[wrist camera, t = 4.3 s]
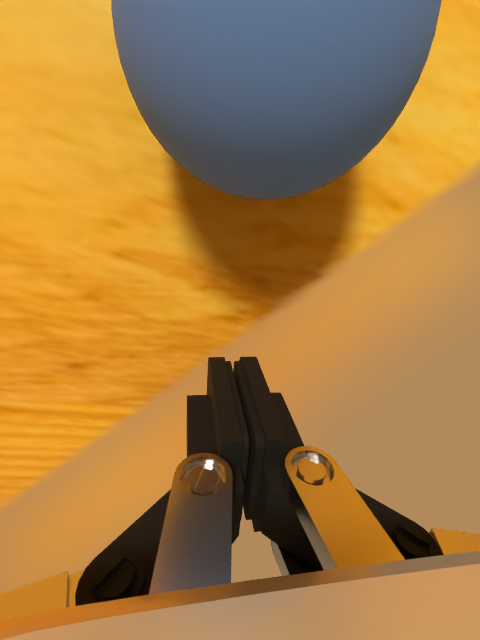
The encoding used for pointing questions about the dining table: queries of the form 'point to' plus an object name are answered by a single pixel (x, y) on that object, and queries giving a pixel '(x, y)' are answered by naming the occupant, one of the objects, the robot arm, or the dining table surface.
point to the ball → (272, 83)
